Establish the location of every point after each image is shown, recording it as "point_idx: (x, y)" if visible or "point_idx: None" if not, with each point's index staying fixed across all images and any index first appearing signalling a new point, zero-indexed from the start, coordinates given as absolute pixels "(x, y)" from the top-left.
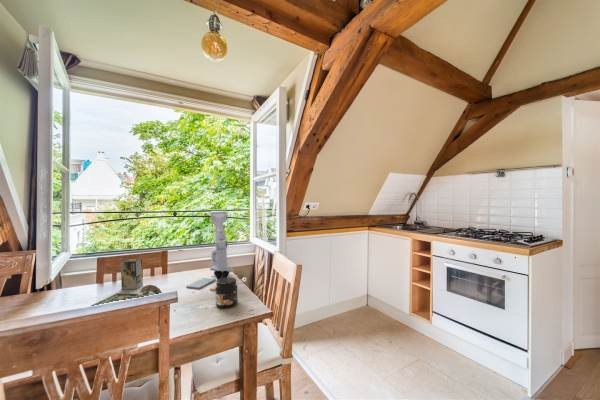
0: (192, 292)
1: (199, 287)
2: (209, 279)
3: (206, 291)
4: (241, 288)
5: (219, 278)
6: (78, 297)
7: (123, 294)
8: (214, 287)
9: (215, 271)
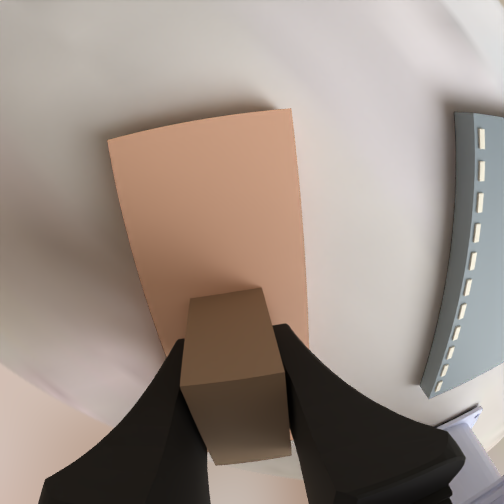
0: (453, 17)
1: (473, 117)
2: (476, 361)
3: (323, 76)
4: (5, 351)
5: (271, 395)
6: None
7: None
8: (263, 194)
9: (443, 495)
